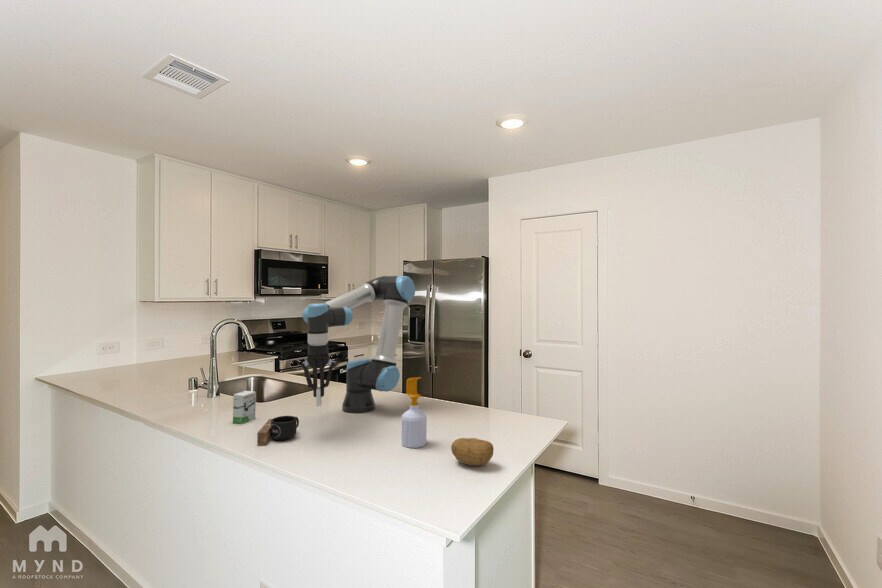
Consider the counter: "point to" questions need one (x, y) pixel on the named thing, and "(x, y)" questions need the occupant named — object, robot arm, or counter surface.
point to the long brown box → (264, 434)
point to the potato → (472, 451)
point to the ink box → (244, 406)
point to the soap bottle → (413, 419)
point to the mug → (284, 427)
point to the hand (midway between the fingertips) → (319, 405)
